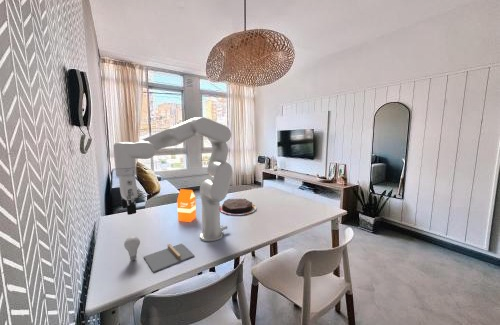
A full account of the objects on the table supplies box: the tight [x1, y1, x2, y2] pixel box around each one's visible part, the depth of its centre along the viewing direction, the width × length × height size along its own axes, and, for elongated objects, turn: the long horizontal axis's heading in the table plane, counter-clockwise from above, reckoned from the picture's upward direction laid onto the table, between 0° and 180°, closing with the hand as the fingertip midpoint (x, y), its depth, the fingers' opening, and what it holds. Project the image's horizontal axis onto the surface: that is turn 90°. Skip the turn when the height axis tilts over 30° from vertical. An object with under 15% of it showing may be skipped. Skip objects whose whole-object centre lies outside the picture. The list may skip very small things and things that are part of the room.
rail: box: [167, 243, 181, 260], centre depth 101 cm, size 1×13×2 cm, turn 41°
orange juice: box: [176, 188, 197, 223], centre depth 140 cm, size 8×9×20 cm
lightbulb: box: [123, 235, 141, 261], centre depth 95 cm, size 6×6×11 cm
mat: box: [143, 243, 195, 274], centre depth 98 cm, size 18×14×1 cm
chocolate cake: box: [220, 198, 257, 216], centre depth 161 cm, size 28×28×7 cm
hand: (129, 210), depth 93 cm, fingers open, 9 cm apart
